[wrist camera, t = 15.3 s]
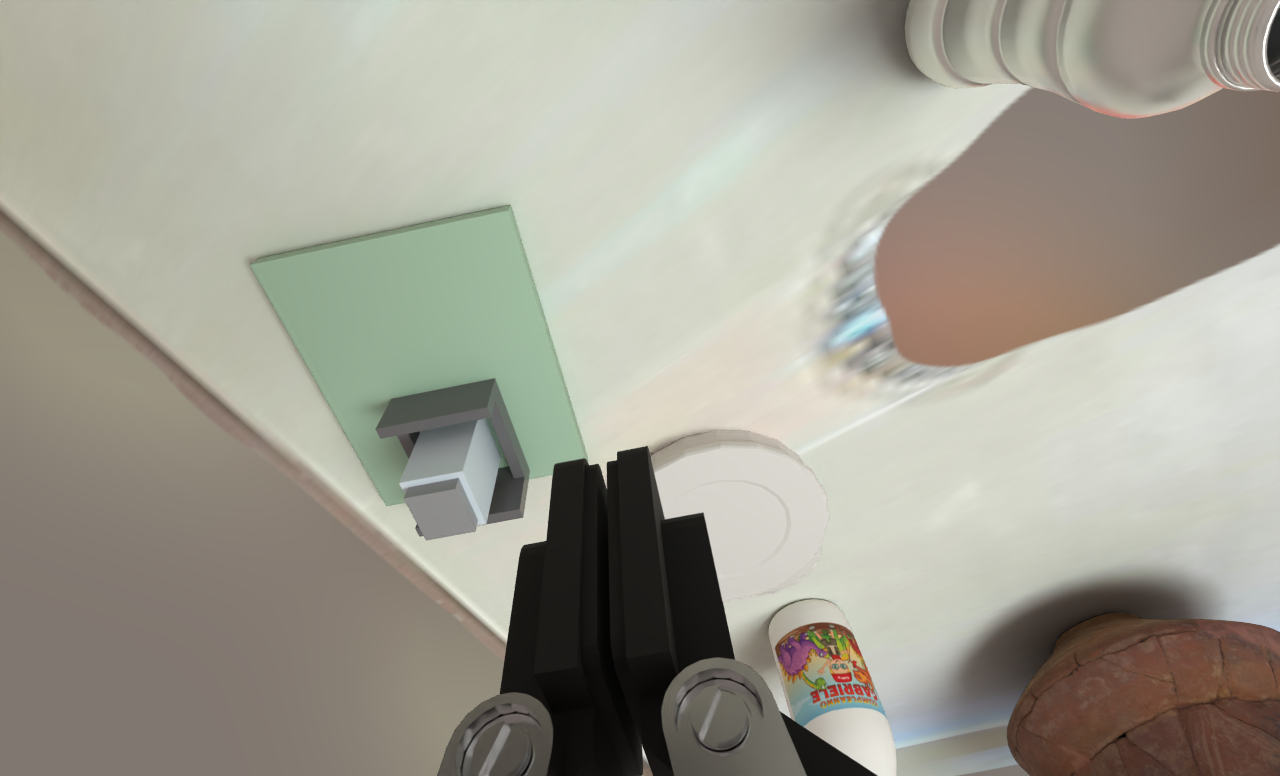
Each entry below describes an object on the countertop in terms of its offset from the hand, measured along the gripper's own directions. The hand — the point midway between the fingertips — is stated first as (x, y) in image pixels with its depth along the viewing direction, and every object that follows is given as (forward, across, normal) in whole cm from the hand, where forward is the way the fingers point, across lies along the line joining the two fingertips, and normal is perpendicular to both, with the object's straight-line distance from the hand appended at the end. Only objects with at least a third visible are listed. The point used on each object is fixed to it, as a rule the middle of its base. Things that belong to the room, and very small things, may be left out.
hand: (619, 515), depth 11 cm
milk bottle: (+29, -10, +46) cm, 55 cm away
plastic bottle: (+29, -20, -4) cm, 36 cm away
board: (+29, +14, +11) cm, 34 cm away
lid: (+30, -4, +30) cm, 42 cm away
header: (+28, +14, +16) cm, 35 cm away
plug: (+28, +14, +16) cm, 35 cm away
